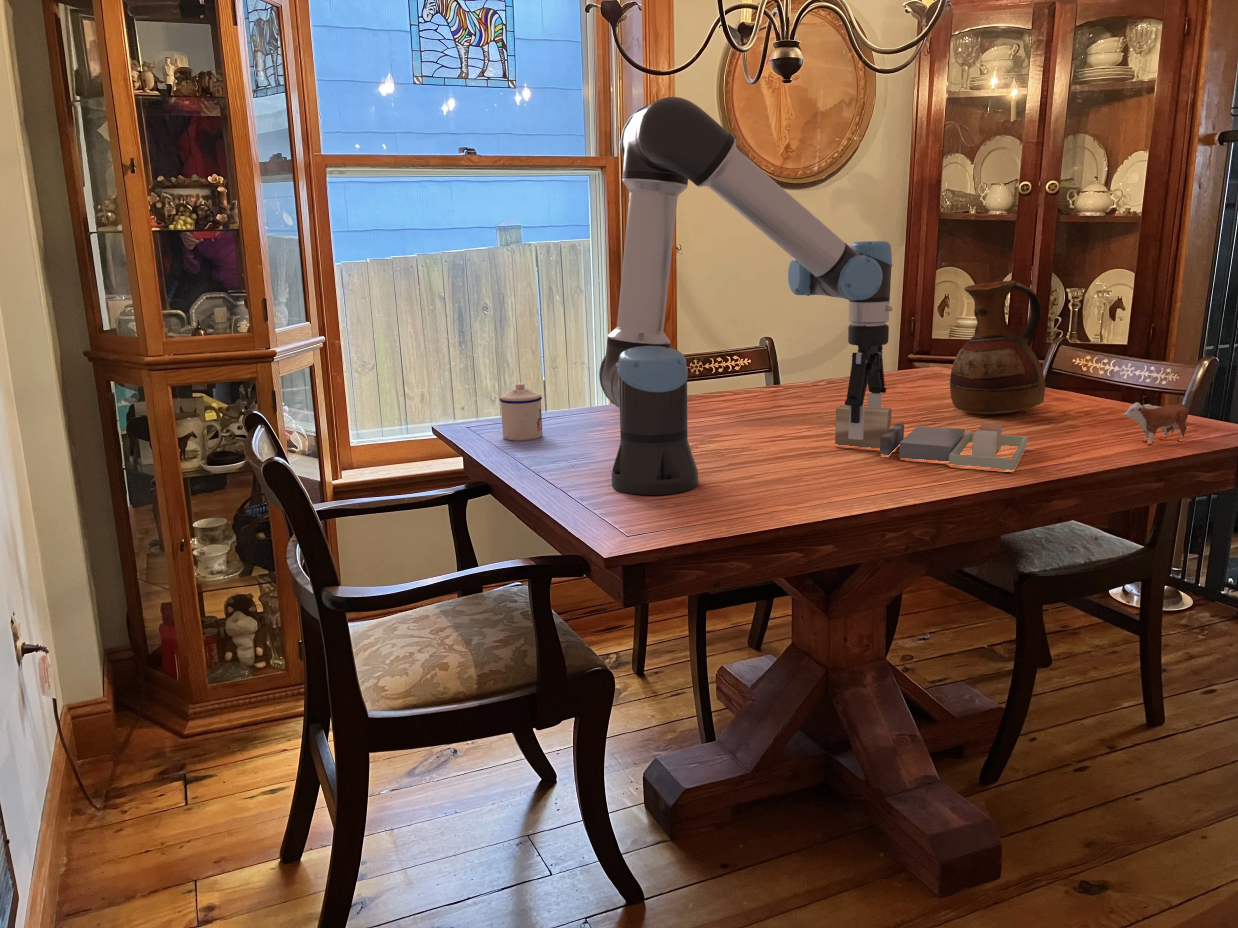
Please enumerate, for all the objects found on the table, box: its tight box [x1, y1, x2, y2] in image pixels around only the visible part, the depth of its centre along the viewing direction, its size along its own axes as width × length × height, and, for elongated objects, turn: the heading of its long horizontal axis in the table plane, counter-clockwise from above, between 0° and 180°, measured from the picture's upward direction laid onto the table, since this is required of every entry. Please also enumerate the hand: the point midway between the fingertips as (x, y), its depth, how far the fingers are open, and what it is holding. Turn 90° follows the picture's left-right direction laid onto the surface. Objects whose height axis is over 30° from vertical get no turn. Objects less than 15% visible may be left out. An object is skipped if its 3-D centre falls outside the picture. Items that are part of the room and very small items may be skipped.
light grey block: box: [972, 429, 998, 457], centre depth 174 cm, size 5×5×4 cm
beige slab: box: [834, 404, 905, 455], centre depth 187 cm, size 13×12×8 cm
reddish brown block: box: [978, 422, 1003, 454], centre depth 180 cm, size 5×5×4 cm
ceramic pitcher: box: [949, 280, 1046, 415], centre depth 214 cm, size 20×20×30 cm
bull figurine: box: [1123, 401, 1189, 442], centre depth 185 cm, size 4×13×8 cm, turn 102°
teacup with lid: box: [499, 382, 543, 442], centre depth 207 cm, size 12×9×12 cm
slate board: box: [898, 425, 966, 461], centre depth 181 cm, size 16×9×4 cm, turn 152°
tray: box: [949, 431, 1028, 470], centre depth 177 cm, size 20×11×2 cm, turn 152°
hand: (864, 432), depth 187 cm, fingers open, 13 cm apart
